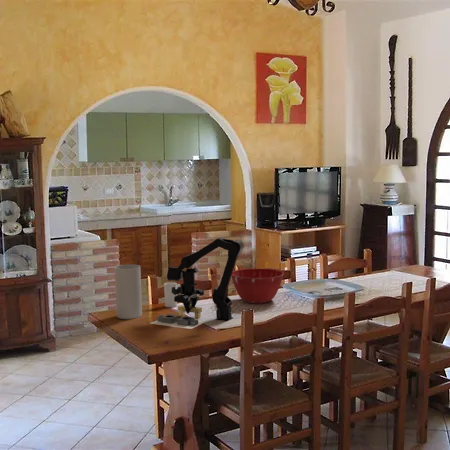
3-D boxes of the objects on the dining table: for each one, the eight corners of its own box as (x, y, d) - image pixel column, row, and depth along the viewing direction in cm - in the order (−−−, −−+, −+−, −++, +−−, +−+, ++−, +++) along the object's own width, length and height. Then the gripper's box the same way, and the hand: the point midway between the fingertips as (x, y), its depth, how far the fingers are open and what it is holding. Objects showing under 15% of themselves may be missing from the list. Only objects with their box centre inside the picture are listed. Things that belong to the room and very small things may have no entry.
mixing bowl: (258, 292, 361) (258, 265, 359) (295, 300, 339) (294, 272, 337) (220, 300, 343) (219, 272, 341) (256, 310, 321) (255, 280, 319)
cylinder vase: (129, 321, 305) (127, 270, 302) (111, 317, 313) (109, 267, 310) (147, 315, 315) (145, 266, 312) (129, 312, 323) (127, 263, 320)
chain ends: (200, 323, 297) (199, 318, 297) (193, 326, 292) (193, 321, 291) (162, 318, 307) (162, 313, 307) (155, 321, 302) (155, 316, 301)
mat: (205, 322, 300) (205, 321, 299) (191, 329, 288) (191, 328, 288) (165, 317, 310) (165, 316, 310) (149, 324, 299) (149, 323, 299)
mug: (168, 308, 329) (167, 285, 328) (162, 305, 335) (161, 283, 333) (185, 305, 335) (184, 282, 333) (179, 302, 340) (178, 280, 339)
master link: (202, 317, 307) (201, 307, 307) (198, 319, 305) (198, 309, 304) (181, 315, 313) (180, 305, 312) (177, 316, 310) (177, 306, 310)
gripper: (184, 276, 319) (185, 306, 321) (164, 283, 303) (165, 315, 304) (204, 278, 314) (204, 308, 315) (184, 285, 297) (185, 318, 299)
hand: (189, 312), depth 309 cm, fingers closed on master link, 3 cm apart
